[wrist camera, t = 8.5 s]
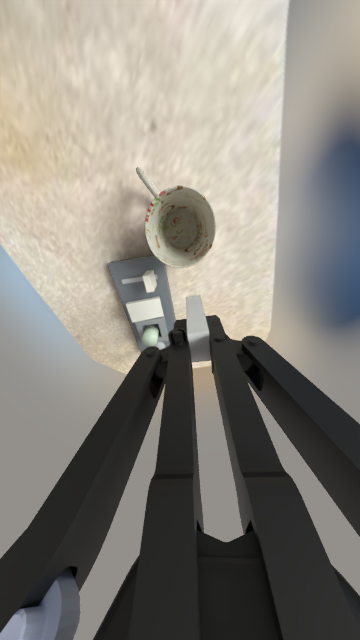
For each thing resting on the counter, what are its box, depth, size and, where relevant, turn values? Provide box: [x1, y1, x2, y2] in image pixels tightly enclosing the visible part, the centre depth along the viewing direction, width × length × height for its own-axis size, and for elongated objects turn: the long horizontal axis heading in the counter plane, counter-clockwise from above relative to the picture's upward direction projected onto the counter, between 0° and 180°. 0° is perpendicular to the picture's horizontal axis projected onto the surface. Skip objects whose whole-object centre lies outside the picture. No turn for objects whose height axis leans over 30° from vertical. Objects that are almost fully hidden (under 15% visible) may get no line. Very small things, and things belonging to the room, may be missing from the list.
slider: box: [142, 270, 157, 293], centre depth 27 cm, size 3×1×4 cm, turn 8°
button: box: [142, 326, 159, 346], centre depth 32 cm, size 3×3×3 cm
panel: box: [107, 255, 176, 353], centre depth 33 cm, size 22×10×4 cm, turn 9°
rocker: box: [126, 296, 164, 323], centre depth 30 cm, size 4×6×1 cm, turn 98°
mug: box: [136, 167, 216, 268], centre depth 21 cm, size 8×13×10 cm, turn 42°
